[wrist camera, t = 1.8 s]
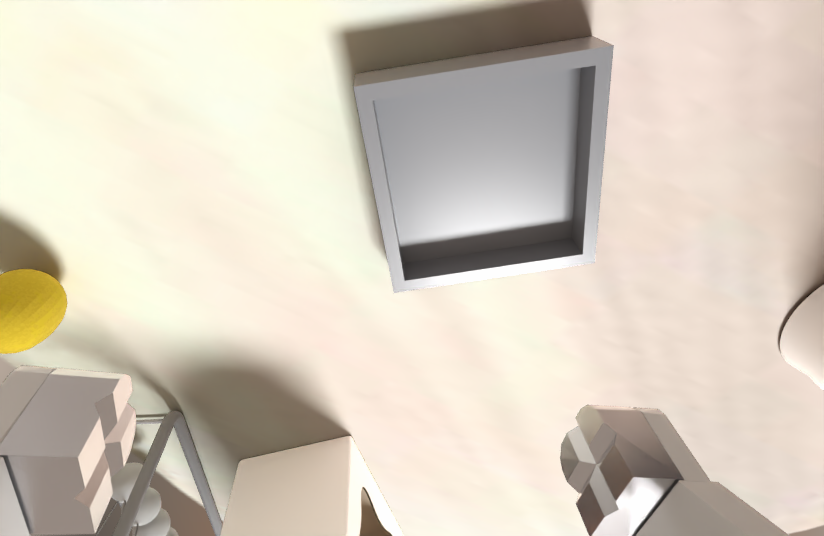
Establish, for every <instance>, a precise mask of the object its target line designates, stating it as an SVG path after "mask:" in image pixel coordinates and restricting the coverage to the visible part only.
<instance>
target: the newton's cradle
mask: <svg viewBox="0 0 824 536" xmlns="http://www.w3.org/2000/svg"><path fill="white" fill-rule="evenodd" d="M154 423H161V425H160V428H159V430H158V432H157V434H156V437H155V439H154V441H153V444H152V446H151V448H150V450H149V453H148V455H147V457H146V459H145V462H144V464H141V463H136V462H131V463H126V464H125V466H124V468H123V469H121V470H120V471H119V472H117V473H116V474H115V475H113V476H112V477H111V483H112V490H113V494H112V496H111V497H112V498H113V499H114V500H116V501H117V502H116V503H115V505H114V507H113V508H112V510H111V511H110V513H109V515H108V516H107V518H106V519H105V521H104V522H103V524H102V526H101V527H100V529H99V530H98V532H97V534H96V535H95V536H97V535H98V533H99V532H100V530H101V529H102V527H103V526H104V524H105V522H106V521H107V519H108V518H109V516H110V514H111V513H112V511H113V510H114V508H115V507H116V505H117V503H119V505H120V507H121V513H122V514H121V517H120V519H119V521H118V523H117V526H116V528H115V530H114V533H113V535H112V536H128V535H129V533H130V530H131V528H132V533H133V536H178V533H177V531H176V530H175V529H174V528H172V527H170V525H171V519H170V516H169V514H168V512H167V511H165V509H163V508H161V505H162V503H161V502H162V500H161V496H160V494H159V492H158V491H157V490H155V489H154V488H151V487H149V485H150V482H151V479H152V477H153V474H154V472H155V470H156V467H157V465H158V462H159V460H160V458H161V455H162V453H163V450H164V448H165V445H166V443H167V440H168V438H169V436H170V433H171V431H172V428H173V426H174V428H175V430H176V433H177V436H178V438H179V441H180V444H181V446H182V449H183V451H184V454H185V457H186V459H187V462H188V465H189V467H190V470H191V473H192V475H193V478H194V480H195V483H196V486H197V488H198V491H199V494H200V496H201V499H202V501H203V504H204V507H205V509H206V512H207V515H208V517H209V520H210V522H211V525H212V528H213V530H214V533H215V535H216V536H220V533H221V529H222V522H221V520H220V517H219V514H218V511H217V508H216V506H215V503H214V500H213V497H212V494H211V492H210V489H209V486H208V483H207V480H206V478H205V475H204V472H203V469H202V466H201V464H200V461H199V458H198V455H197V452H196V450H195V447H194V444H193V441H192V438H191V436H190V433H189V430H188V427H187V424H186V422H185V419H184V417H183V415H182V413H180V412H179V411H171V412H169V413H168V414H167V415H166V416H165V417H164V419H154V420H136V424H154Z"/></svg>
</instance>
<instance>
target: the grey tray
mask: <svg viewBox="0 0 824 536" xmlns="http://www.w3.org/2000/svg"><path fill="white" fill-rule="evenodd" d="M613 46H614V45H611V44H609V43H607V42H605V41H602V40H600V39H598V38H596V37H593V36H589V37H583V38H577V39H570V40H564V41H558V42H551V43H545V44H539V45H533V46H526V47H520V48H514V49H507V50H501V51H495V52H489V53H482V54H476V55H470V56H464V57H457V58H451V59H445V60H438V61H432V62H426V63H420V64H413V65H407V66H401V67H395V68H388V69H382V70H376V71H369V72H363V73H357V74H355V78H354V86H353V88H354V93H355V98H356V103H357V108H358V113H359V118H360V123H361V128H362V133H363V138H364V143H365V148H366V153H367V159H368V164H369V169H370V174H371V179H372V184H373V189H374V194H375V199H376V204H377V209H378V214H379V219H380V224H381V230H382V235H383V240H384V245H385V250H386V255H387V260H388V265H389V270H390V275H391V280H392V285H393V290H394V293H397V292H403V291H410V290H417V289H424V288H430V287H437V286H444V285H450V284H457V283H464V282H471V281H477V280H484V279H491V278H497V277H504V276H511V275H518V274H524V273H531V272H538V271H544V270H551V269H558V268H565V267H571V266H578V265H585V264H591V263H595V254H596V243H597V231H598V220H599V208H600V196H601V185H602V173H603V162H604V150H605V139H606V127H607V115H608V104H609V92H610V81H611V69H612V58H613Z"/></svg>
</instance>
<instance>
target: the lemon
mask: <svg viewBox="0 0 824 536" xmlns="http://www.w3.org/2000/svg"><path fill="white" fill-rule="evenodd" d="M66 308H67V298H66V293H65V291H64V289H63V287H62V286H61V284H60V283H59V282H58V281H57V280H56V279H55V278H54V277H52V276H50V275H49V274H47V273H44V272H42V271H38V270H33V269H18V270H12V271H8V272H5V273H3V274H1V275H0V353H3V354H7V353H17V352H21V351H24V350H27V349H30V348H32V347H34V346H35V345H37V344H38V343H40V342H42V341H43V340H45V339H46V338H47V337H48V336H49V335H51V334H52V333H53V332H54V330H55V329H56V328H57V326H58V325H59V324H60V323H61V321H62V319H63V317H64V315H65V311H66Z"/></svg>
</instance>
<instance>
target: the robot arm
mask: <svg viewBox="0 0 824 536" xmlns="http://www.w3.org/2000/svg"><path fill="white" fill-rule="evenodd" d="M780 350H781V354H782V356H783V358H784V359H785V361H786V362H787V363H788V364H790V365H791V366H793V367H794V368H796V369H798V370H799V371H801V372H803V373H804V374H806V375H807V376H809V377H810V378H811V379H812V381H813V382H814V383H815V384H816V385H817V386H819V387H820V388H821V389H822V390H824V284H823V285H822V286H821V287H819V288H818V289H817V290H815V291H814V292H813V293H812V294H811V295H809V296H808V297H807V298H806V299H805V300H804V301H803V302H802V303H801V304H800V305H799V306H798V307H797V309H796V310H795V311H794V312H793V314H792V315H791V316H790V318H789V319H788V321H787V323H786V325H785V327H784V329H783V332H782V335H781V339H780ZM132 391H133V388H132V383H131V377H130V376H129V375H127V374H120V373H109V372H98V371H87V370H76V369H65V368H48V367H37V366H25V365H22V366H20V367H19V368H17V369H15V370H14V371H12V372H11V373H10V374H9V375H8V376H7V378H6V379H5V380H4V382H3V383H2V384H1V385H0V536H30V535H62V534H95V533H96V531H97V528H98V526H99V524H100V521H101V519H102V517H103V515H104V512H105V510H106V508H107V506H108V503H109V501H110V499H111V496H112V494H113V490H112V483H111V477H112V476H113V475H115V474H116V473H117V472H119V471H120V470H121V469H123V468H124V466H125V464H126V461H127V459H128V457H129V454H130V452H131V448H132V444H133V440H134V436H135V429H136V413H135V409H134V408H133V407H132V406H131V405H130V404H128V403H127V402H128V400H129V397H130V395H131V393H132ZM576 420H577V423H578V426H577V427H576V428H574V429H573V430H571V431H569V432H568V433H567V434H566V436H565V438H564V440H563V442H562V444H561V456H560V460H561V465H562V470H563V473H564V475H565V478H566V480H567V482H568V483H569V484H570V485H571V486H572V487H573V488H574V489H575V490H576V491H577V492H578V493H579V494H578V498H577V502H576V505H577V507H578V510H579V512H580V514H581V517H582V519H583V522H584V524H585V526H586V529H587V531H588V534H589V536H789V535H788V534H787V533H785V532H784V531H783V530H781V529H780V528H779V527H777V526H776V525H775V524H773V523H772V522H771V521H769V520H768V519H767V518H765V517H764V516H763V515H761V514H760V513H759V512H757V511H756V510H755V509H753V508H752V507H751V506H749V505H748V504H747V503H745V502H744V501H743V500H741V499H740V498H739V497H737V496H736V495H735V494H733V493H732V492H731V491H729V490H728V489H727V488H725V487H724V486H723V485H721V484H720V483H719V482H711V481H710V479H709V478H708V477H707V475H706V474H705V472H704V471H703V469H702V468H701V466H700V465H699V463H698V462H697V460H696V459H695V458H694V456H693V455H692V453H691V452H690V450H689V449H688V447H687V446H686V444H685V443H684V441H683V440H682V439H681V437H680V436H679V434H678V433H677V431H676V430H675V428H674V427H673V425H672V424H671V423H670V421H669V420H668V418H667V417H666V415H665V414H664V413H662V412H661V411H660V410H658V409H650V408H631V407H618V406H600V405H586V406H585V407H583V408H581V409H580V411H579V413H578V414H577V416H576Z"/></svg>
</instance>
